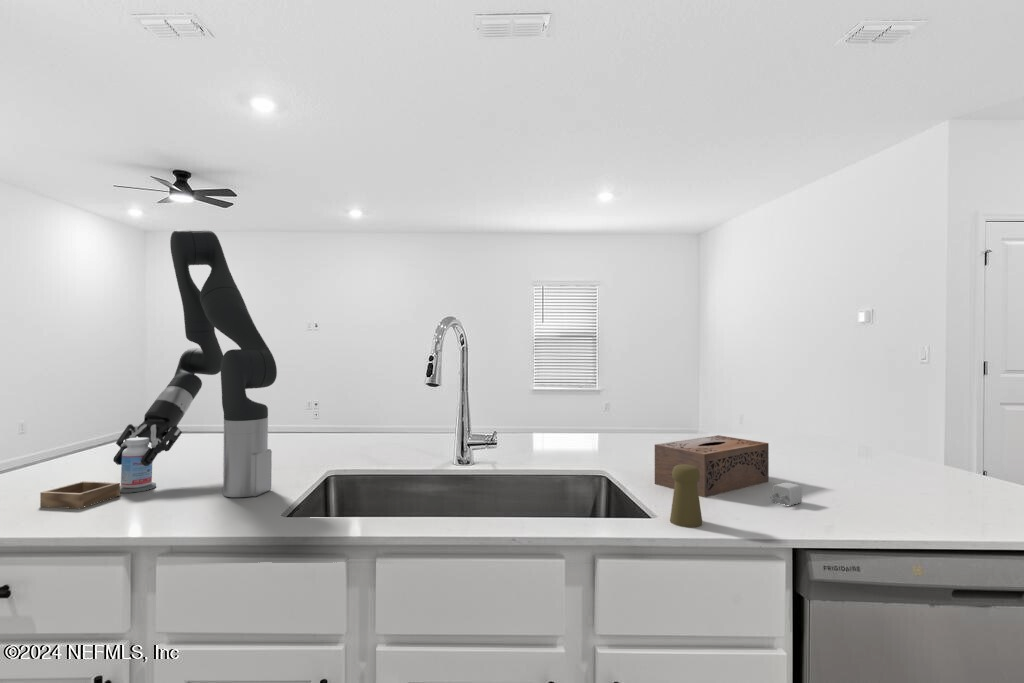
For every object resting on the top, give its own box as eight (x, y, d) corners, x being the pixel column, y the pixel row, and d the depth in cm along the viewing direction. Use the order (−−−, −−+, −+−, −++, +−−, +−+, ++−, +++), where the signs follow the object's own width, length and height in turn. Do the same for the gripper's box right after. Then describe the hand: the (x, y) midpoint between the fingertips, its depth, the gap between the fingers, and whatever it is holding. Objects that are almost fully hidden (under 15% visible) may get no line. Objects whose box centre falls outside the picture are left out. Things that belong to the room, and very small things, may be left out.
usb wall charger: (801, 504, 117) (801, 485, 117) (783, 509, 113) (783, 490, 113) (784, 499, 120) (784, 481, 120) (765, 504, 117) (765, 486, 117)
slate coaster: (164, 485, 132) (164, 482, 132) (136, 494, 124) (136, 491, 124) (135, 483, 133) (135, 481, 133) (106, 492, 125) (106, 489, 125)
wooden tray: (119, 496, 122) (119, 482, 122) (79, 508, 113) (79, 494, 113) (83, 494, 124) (83, 481, 124) (40, 506, 114) (40, 492, 114)
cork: (665, 517, 107) (665, 462, 107) (694, 516, 108) (694, 461, 108) (677, 527, 101) (676, 469, 101) (708, 526, 102) (707, 468, 102)
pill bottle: (135, 489, 125) (137, 441, 125) (114, 488, 126) (115, 440, 127) (158, 483, 131) (159, 437, 131) (137, 482, 132) (138, 436, 132)
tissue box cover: (718, 471, 148) (718, 435, 148) (768, 482, 136) (768, 443, 136) (654, 484, 134) (654, 444, 134) (704, 498, 122) (704, 454, 122)
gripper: (136, 398, 137) (93, 453, 125) (186, 399, 135) (148, 455, 123) (153, 416, 142) (113, 471, 131) (202, 417, 140) (166, 473, 128)
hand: (130, 463), depth 127 cm, fingers open, 6 cm apart
